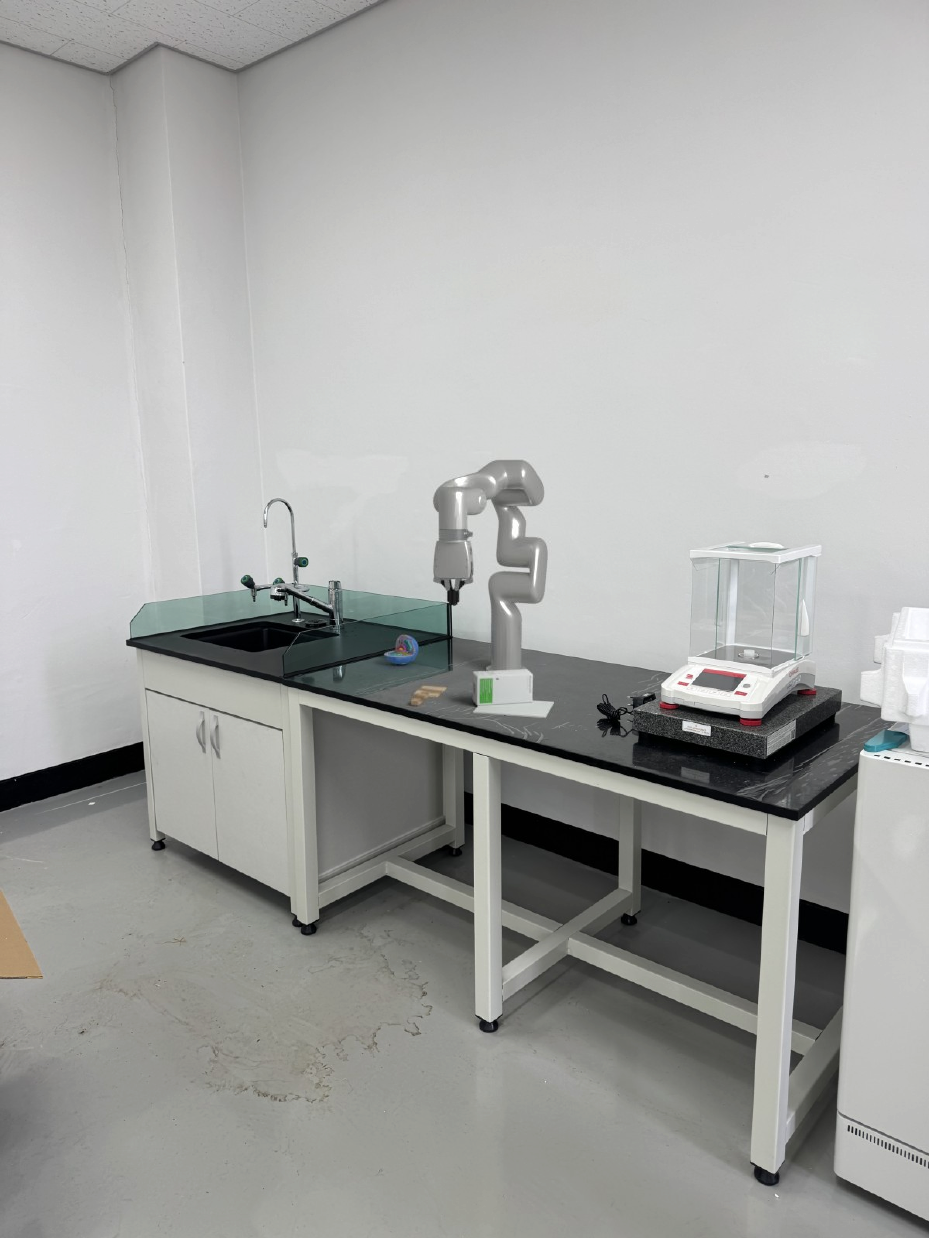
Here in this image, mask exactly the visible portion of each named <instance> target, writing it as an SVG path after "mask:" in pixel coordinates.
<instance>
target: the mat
mask: <svg viewBox="0 0 929 1238" xmlns="http://www.w3.org/2000/svg"><path fill="white" fill-rule="evenodd" d="M554 703H555V702H554V701H545V700H534V699H532V702H530V703H512V704H495V705H479V706H477V707H476V708H474V710H473V711H472V714H478V715H492V716H504V715H506V716H507V717H519V718H520V717H521V718H535V719H546V718H547V716H548V715H549V713H550V711H551V709H552V708H553V706H554ZM506 716H505V717H506Z"/></svg>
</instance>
